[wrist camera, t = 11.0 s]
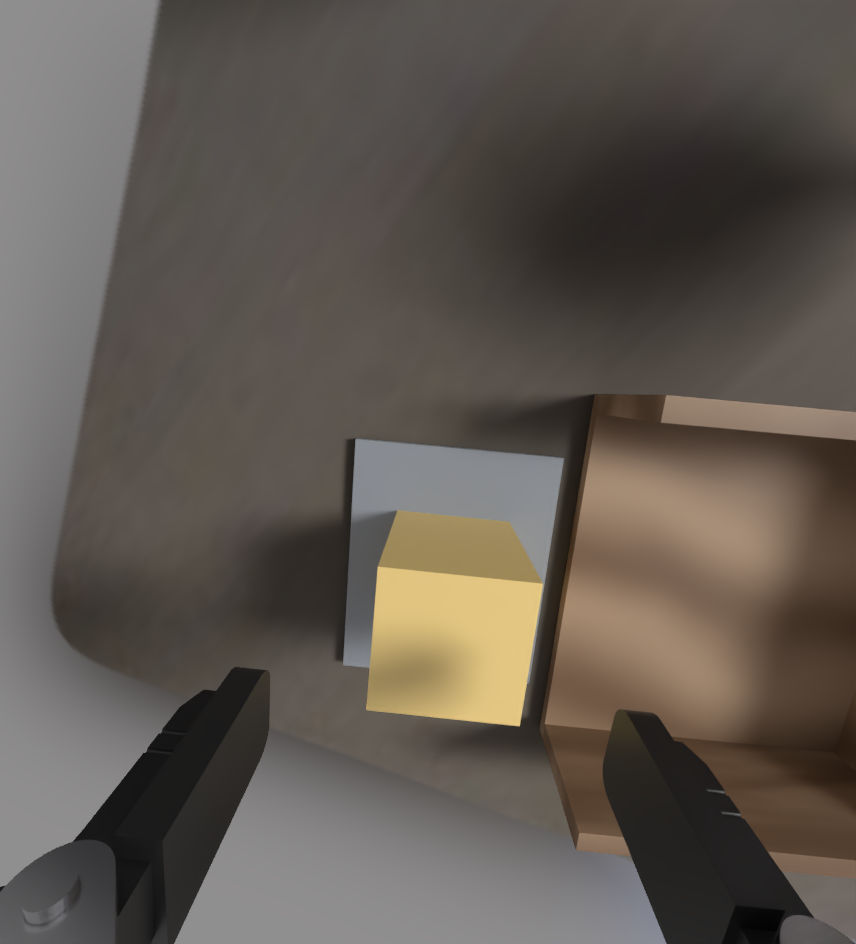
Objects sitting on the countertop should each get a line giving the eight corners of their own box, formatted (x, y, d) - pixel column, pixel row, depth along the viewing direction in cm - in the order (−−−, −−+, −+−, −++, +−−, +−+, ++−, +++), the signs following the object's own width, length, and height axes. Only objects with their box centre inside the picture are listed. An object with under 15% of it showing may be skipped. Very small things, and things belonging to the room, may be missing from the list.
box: (594, 394, 17) (666, 395, 12) (944, 425, 17) (1179, 441, 12) (539, 728, 21) (576, 850, 15) (834, 757, 21) (978, 890, 15)
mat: (357, 437, 18) (355, 439, 18) (561, 456, 18) (564, 458, 18) (344, 659, 20) (342, 665, 20) (527, 677, 20) (529, 683, 20)
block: (397, 510, 18) (377, 566, 12) (509, 521, 18) (543, 583, 12) (388, 612, 19) (366, 710, 13) (494, 623, 19) (519, 726, 13)
